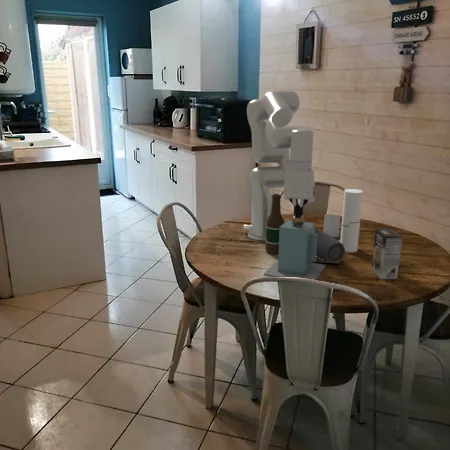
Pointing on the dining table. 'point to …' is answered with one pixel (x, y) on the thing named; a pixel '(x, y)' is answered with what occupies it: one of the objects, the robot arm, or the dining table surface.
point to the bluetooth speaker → (329, 247)
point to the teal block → (296, 252)
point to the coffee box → (386, 253)
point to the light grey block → (331, 225)
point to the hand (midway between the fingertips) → (298, 216)
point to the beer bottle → (273, 226)
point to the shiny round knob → (297, 220)
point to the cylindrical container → (351, 219)
